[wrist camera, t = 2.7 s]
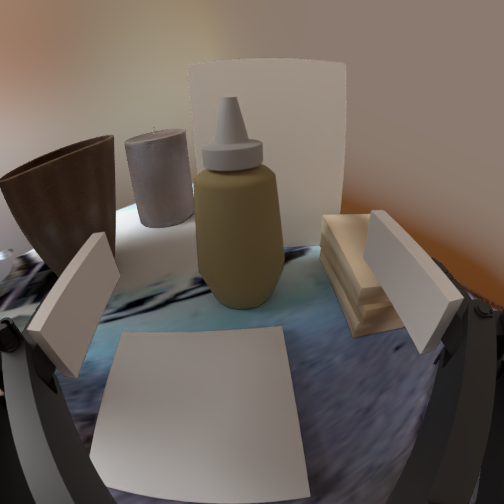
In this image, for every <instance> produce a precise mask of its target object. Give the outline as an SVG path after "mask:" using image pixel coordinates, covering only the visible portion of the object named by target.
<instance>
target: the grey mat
mask: <svg viewBox="0 0 504 504" xmlns="http://www.w3.org/2000/svg"><path fill="white" fill-rule="evenodd" d="M90 459H91V461H92V463H93V465H94V467H95V469H96V470H97V472H98V474H99V476H100V477H101V479H102V481H103V483H104V484H105V486H106V487H109V488H113V489H116V490H120V491H124V492H129V493H133V494H138V495H143V496H148V497H153V498H159V499H166V500H174V501H182V502H193V503H209V504H252V503H267V502H278V501H287V500H294V499H301V498H307V497H310V490H309V483H308V476H307V470H306V463H305V457H304V451H303V444H302V438H301V432H300V426H299V420H298V414H297V408H296V402H295V396H294V390H293V384H292V379H291V373H290V367H289V362H288V356H287V350H286V345H285V339H284V334H283V328H282V326H274V327H262V328H249V329H234V330H216V331H188V332H125V331H122V334H121V337H120V340H119V343H118V346H117V349H116V352H115V355H114V359H113V362H112V365H111V368H110V372H109V375H108V379H107V382H106V386H105V390H104V394H103V397H102V401H101V405H100V409H99V414H98V418H97V422H96V427H95V432H94V436H93V441H92V447H91V452H90Z"/></svg>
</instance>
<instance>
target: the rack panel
mask: <svg viewBox="0 0 504 504" xmlns="http://www.w3.org/2000/svg"><path fill="white" fill-rule="evenodd" d="M187 69H188V82H189V94H190V106H191V116H192V127H193V136H194V146H195V154H196V163H197V171H198V174H199V173H200V172H201V171H202V170H204V169H206V168H204V165H203V156H202V146H204V145H205V144H208V143H211V142H214V140H215V133H216V125H217V118H218V111H219V105H220V98H226V97H237V100H238V103H239V107H240V110H241V114H242V117H243V120H244V124H245V127H246V131H247V134H248V138H249V139H254V140H259V141H261V142H262V143H263V162H262V165H265V166H267V167H268V168H269V169H271V170H272V171H273V172H274V173H275V174H276V182H277V190H278V199H279V208H280V217H281V226H282V235H283V245H284V248H287V247H301V246H315V245H320V241H321V232H323V231H322V220H323V215H340V207H341V197H342V186H343V174H344V159H345V138H346V63H339V62H331V61H320V60H306V59H282V58H262V59H261V58H260V59H237V60H222V61H212V62H203V63H196V64H189V65H187Z"/></svg>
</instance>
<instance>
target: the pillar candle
mask: <svg viewBox="0 0 504 504" xmlns="http://www.w3.org/2000/svg"><path fill="white" fill-rule="evenodd" d="M124 143H125V149H126V155H127V161H128V166H129V171H130V176H131V182H132V187H133V191H134V196H135V200H136V205H137V209H138V213H139V217H140V221H141V223H142V224H143V225H144V226H146V227H151V228H161V227H162V228H163V227H168V226H173V225H176V224H179V223H182V222H184V221H185V220H186V219H187V218H188V217H190V216H191V215H192V214H193V213H194V212H195V202H194V196H193V188H192V180H191V173H190V167H189V157H188V150H187V141H186V129H167V130H161V131H156V132H154V127H153V132H151V133H147V134H143V135H139V136H136V137H134V138H130V139H128V140H126V141H125V142H124Z"/></svg>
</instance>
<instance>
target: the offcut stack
mask: <svg viewBox="0 0 504 504" xmlns="http://www.w3.org/2000/svg"><path fill="white" fill-rule="evenodd" d="M369 219H370V214H347V215H346V214H344V215H323V220H322V231H323V232H321V241H320V247H321V250H320V260H321V262H322V264H323V267H324V269H325V271H326V273H327V276H328V278H329V280H330V283H331V285H332V287H333V289H334V292H335V294H336V297H337V299H338V301H339V304H340V306H341V308H342V311H343V313H344V316H345V318H346V321H347V323H348V326H349V328H350V331H351V333H352V336H353V338H354V337H359V336H365V335H370V334H375V333H380V332H385V331H390V330H394V329H399V328H403V327H405V326H404V324H403V322H402V320H401V318H400V317H399V315H398V313H397V311H396V310H395V308H394V306H393V305H392V303H391V301H390V300H389V298H388V296H387V295H386V293H385V291H384V290H383V288H382V286H381V285H380V283H379V282H378V280H377V278H376V277H375V275H374V274H373V272H372V271H371V269H370V267H369V266H368V264H367V263H366V261H365V260H364V258H363V254H364V249H365V243H366V238H367V232H368V226H369Z"/></svg>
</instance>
